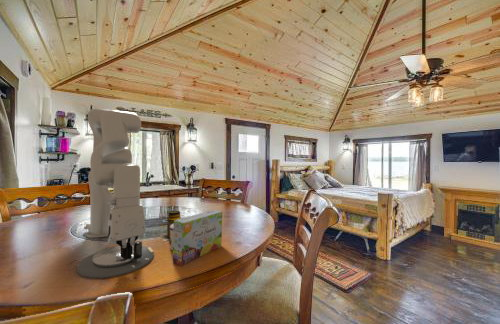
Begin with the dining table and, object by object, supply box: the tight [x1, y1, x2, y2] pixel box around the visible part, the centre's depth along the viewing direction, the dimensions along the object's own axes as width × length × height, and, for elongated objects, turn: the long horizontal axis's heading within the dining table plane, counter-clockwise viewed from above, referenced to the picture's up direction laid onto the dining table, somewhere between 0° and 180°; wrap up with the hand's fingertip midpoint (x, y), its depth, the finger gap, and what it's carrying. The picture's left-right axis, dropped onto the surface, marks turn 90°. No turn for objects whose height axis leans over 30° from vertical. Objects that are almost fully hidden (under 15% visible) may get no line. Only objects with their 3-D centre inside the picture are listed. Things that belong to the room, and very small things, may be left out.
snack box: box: [172, 209, 223, 266], centre depth 84 cm, size 21×6×15 cm, turn 148°
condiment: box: [160, 210, 182, 242], centre depth 101 cm, size 7×8×12 cm
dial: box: [93, 240, 143, 268], centre depth 77 cm, size 18×15×6 cm
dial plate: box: [76, 245, 155, 279], centre depth 77 cm, size 23×23×1 cm
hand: (126, 257), depth 71 cm, fingers closed
